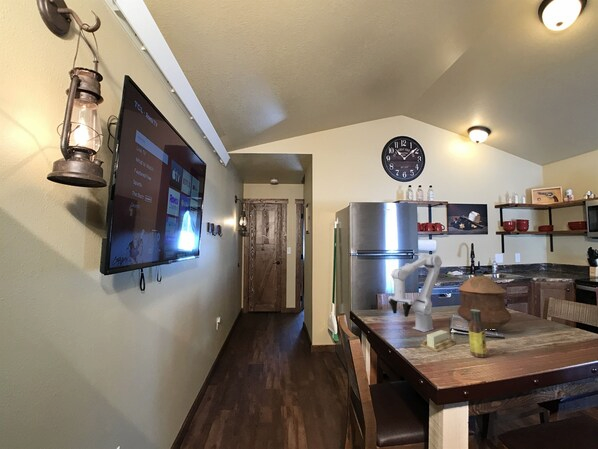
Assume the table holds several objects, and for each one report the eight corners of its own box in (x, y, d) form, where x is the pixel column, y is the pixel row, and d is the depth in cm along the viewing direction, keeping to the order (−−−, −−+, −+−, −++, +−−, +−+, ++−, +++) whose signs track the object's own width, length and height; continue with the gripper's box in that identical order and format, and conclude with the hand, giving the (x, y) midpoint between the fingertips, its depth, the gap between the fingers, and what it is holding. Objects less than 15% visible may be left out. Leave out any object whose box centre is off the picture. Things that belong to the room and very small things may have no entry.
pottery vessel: (521, 339, 133) (518, 280, 135) (464, 334, 142) (461, 279, 144) (502, 323, 157) (499, 274, 159) (454, 320, 166) (451, 273, 168)
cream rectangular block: (441, 339, 132) (440, 329, 133) (448, 342, 129) (447, 331, 130) (427, 345, 126) (426, 334, 126) (434, 347, 123) (433, 336, 123)
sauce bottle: (487, 359, 112) (484, 313, 113) (470, 356, 115) (467, 311, 116) (486, 353, 117) (483, 309, 119) (469, 350, 121) (467, 307, 122)
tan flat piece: (438, 339, 135) (438, 334, 135) (454, 344, 128) (454, 339, 128) (420, 345, 128) (420, 340, 128) (437, 351, 120) (437, 346, 120)
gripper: (384, 289, 151) (385, 312, 150) (406, 293, 139) (407, 319, 138) (392, 288, 155) (393, 311, 154) (414, 292, 142) (415, 317, 141)
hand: (400, 314), depth 146 cm, fingers open, 7 cm apart
